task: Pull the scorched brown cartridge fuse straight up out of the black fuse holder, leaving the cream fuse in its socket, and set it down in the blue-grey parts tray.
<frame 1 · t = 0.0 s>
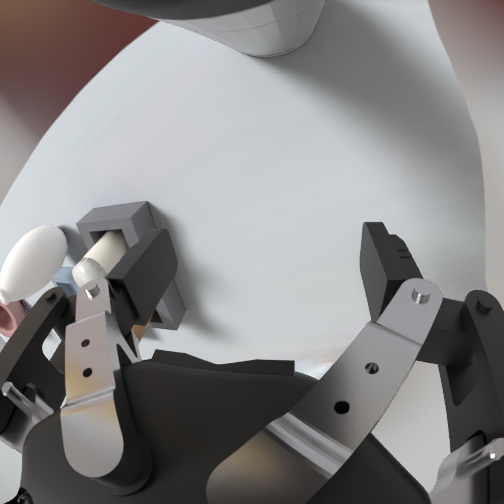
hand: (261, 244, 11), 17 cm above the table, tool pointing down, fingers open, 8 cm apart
parts tray: (100, 298, 44), on the table
blown fuse: (151, 289, 39), resting in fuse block
mortar and pestle: (17, 299, 54), on the table
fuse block: (139, 262, 37), on the table
sauce bottle: (61, 234, 37), on the table
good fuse: (127, 231, 34), resting in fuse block
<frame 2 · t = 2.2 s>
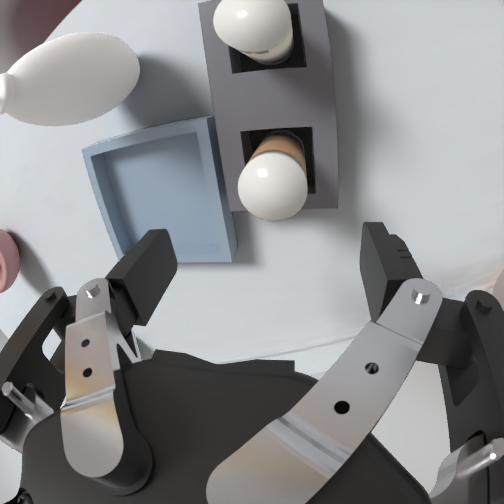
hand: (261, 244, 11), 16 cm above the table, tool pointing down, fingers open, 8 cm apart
parts tray: (164, 191, 28), on the table
blown fuse: (282, 150, 24), resting in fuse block
mortar and pestle: (13, 242, 38), on the table
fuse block: (276, 97, 21), on the table
sauce bottle: (126, 73, 21), on the table
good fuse: (270, 44, 18), resting in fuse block
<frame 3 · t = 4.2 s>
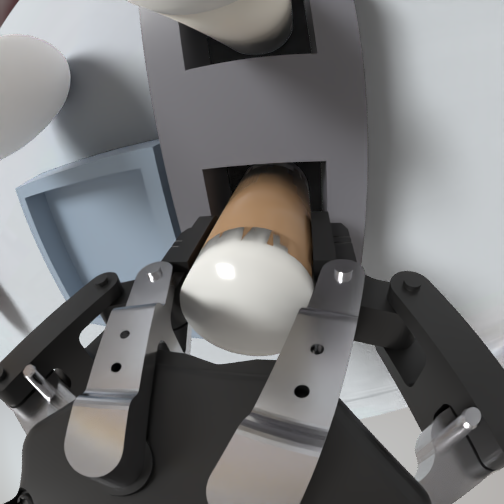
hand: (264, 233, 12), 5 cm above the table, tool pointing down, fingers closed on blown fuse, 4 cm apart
parts tray: (118, 240, 20), on the table
blown fuse: (274, 190, 16), resting in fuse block, touching gripper
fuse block: (266, 105, 13), on the table
sauce bottle: (61, 82, 14), on the table
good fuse: (255, 23, 11), resting in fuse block
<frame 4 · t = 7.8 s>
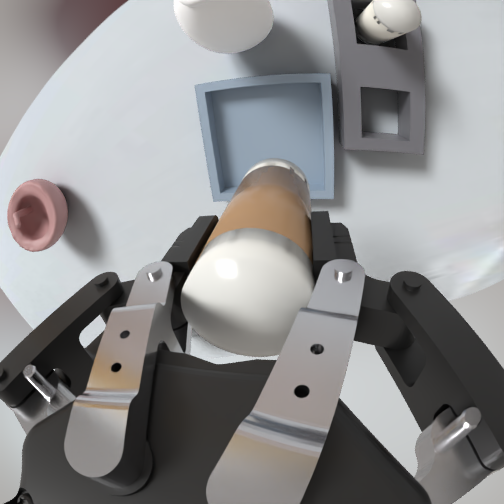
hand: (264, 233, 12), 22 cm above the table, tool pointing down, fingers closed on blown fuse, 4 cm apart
parts tray: (269, 134, 30), on the table
blown fuse: (275, 190, 16), point 17 cm above the table, touching gripper
mortar and pestle: (58, 198, 40), on the table
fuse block: (374, 69, 23), on the table
sauce bottle: (242, 28, 23), on the table
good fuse: (370, 29, 21), resting in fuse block
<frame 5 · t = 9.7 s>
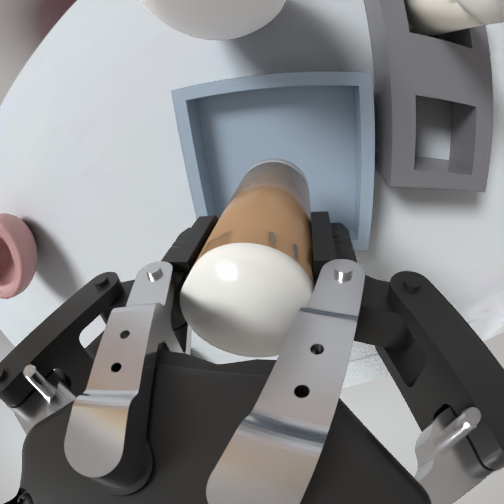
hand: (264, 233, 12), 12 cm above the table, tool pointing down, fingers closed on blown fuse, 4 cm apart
parts tray: (281, 159, 22), on the table
blown fuse: (275, 190, 16), point 7 cm above the table, touching gripper
mortar and pestle: (28, 233, 32), on the table
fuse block: (424, 70, 15), on the table
sauce bottle: (240, 8, 15), on the table
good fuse: (416, 17, 12), resting in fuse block
when the fingers open (7 cm above the table, at t = 11.4 s): blown fuse drops 1 cm, resting on parts tray.
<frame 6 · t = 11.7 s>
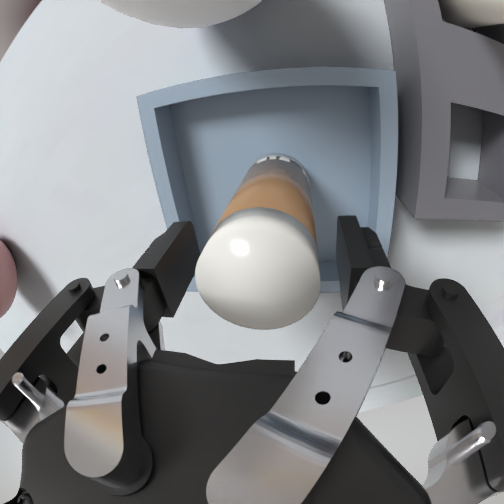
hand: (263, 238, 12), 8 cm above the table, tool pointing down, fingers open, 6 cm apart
parts tray: (277, 179, 18), on the table
blown fuse: (277, 184, 17), point 1 cm above the table, touching parts tray
mortar and pestle: (8, 252, 28), on the table
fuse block: (452, 70, 11), on the table
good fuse: (442, 6, 8), resting in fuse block
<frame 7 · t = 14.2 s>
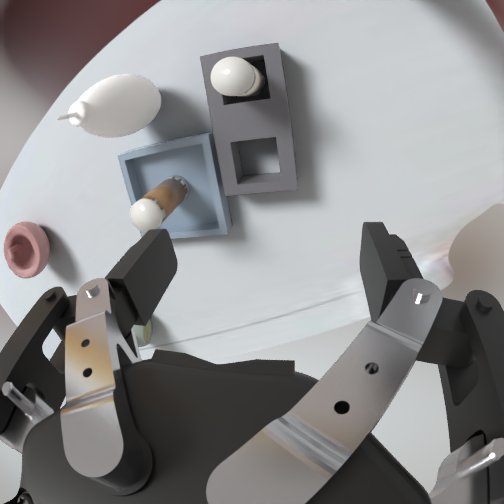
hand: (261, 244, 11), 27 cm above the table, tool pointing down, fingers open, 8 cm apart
parts tray: (178, 186, 39), on the table
air freshener: (136, 316, 57), on the table
blown fuse: (176, 188, 38), point 1 cm above the table, touching parts tray
mortar and pestle: (43, 235, 50), on the table
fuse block: (254, 118, 33), on the table
sauce bottle: (149, 101, 33), on the table
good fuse: (248, 81, 30), resting in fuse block
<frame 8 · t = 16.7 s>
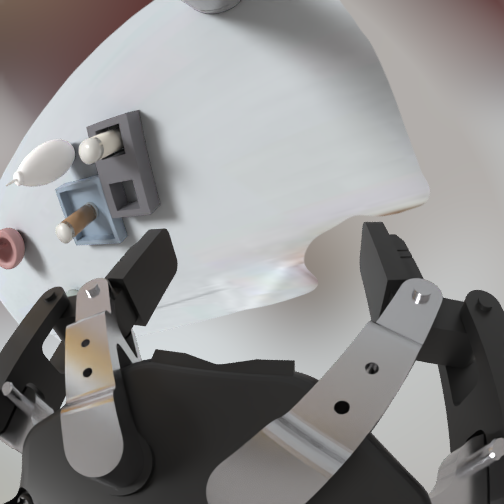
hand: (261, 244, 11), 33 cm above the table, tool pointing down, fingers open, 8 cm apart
parts tray: (93, 208, 52), on the table
blown fuse: (91, 210, 51), point 1 cm above the table, touching parts tray
mortar and pestle: (20, 237, 62), on the table
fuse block: (128, 162, 45), on the table
sauce bottle: (71, 151, 45), on the table
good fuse: (122, 137, 42), resting in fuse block
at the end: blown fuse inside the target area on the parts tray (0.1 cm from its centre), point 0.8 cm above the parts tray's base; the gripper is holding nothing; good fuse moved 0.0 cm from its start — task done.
